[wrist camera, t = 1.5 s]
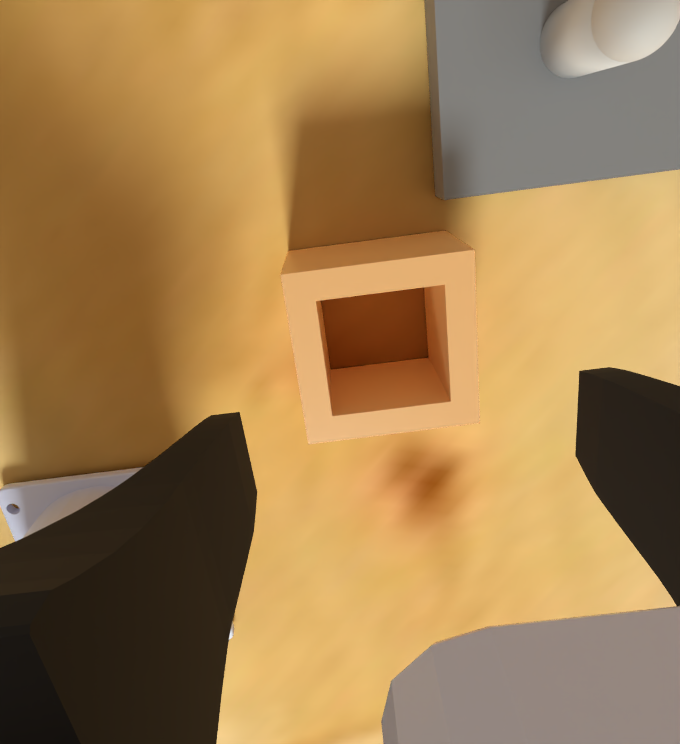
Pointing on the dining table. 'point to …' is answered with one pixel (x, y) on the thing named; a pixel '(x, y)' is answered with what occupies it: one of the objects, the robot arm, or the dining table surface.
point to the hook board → (551, 92)
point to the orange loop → (393, 379)
